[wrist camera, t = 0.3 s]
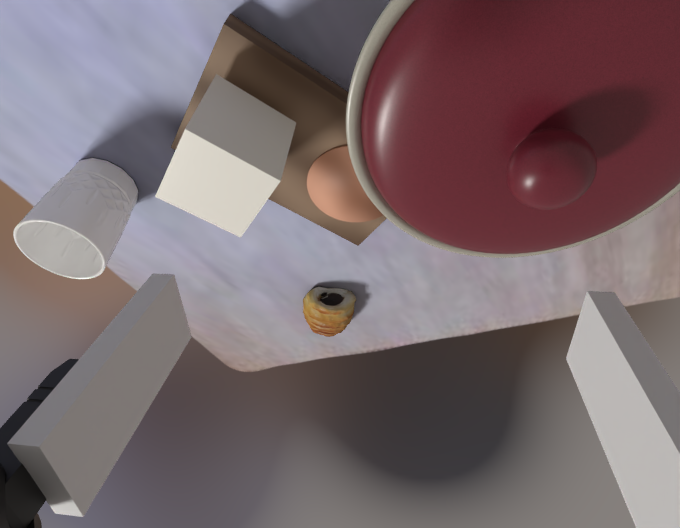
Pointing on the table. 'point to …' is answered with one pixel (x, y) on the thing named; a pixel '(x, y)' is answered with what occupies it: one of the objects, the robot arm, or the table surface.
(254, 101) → the matte off-white cube
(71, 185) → the white cup
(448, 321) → the table surface
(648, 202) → the canister
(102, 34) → the table surface
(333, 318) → the pastry
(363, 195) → the board
